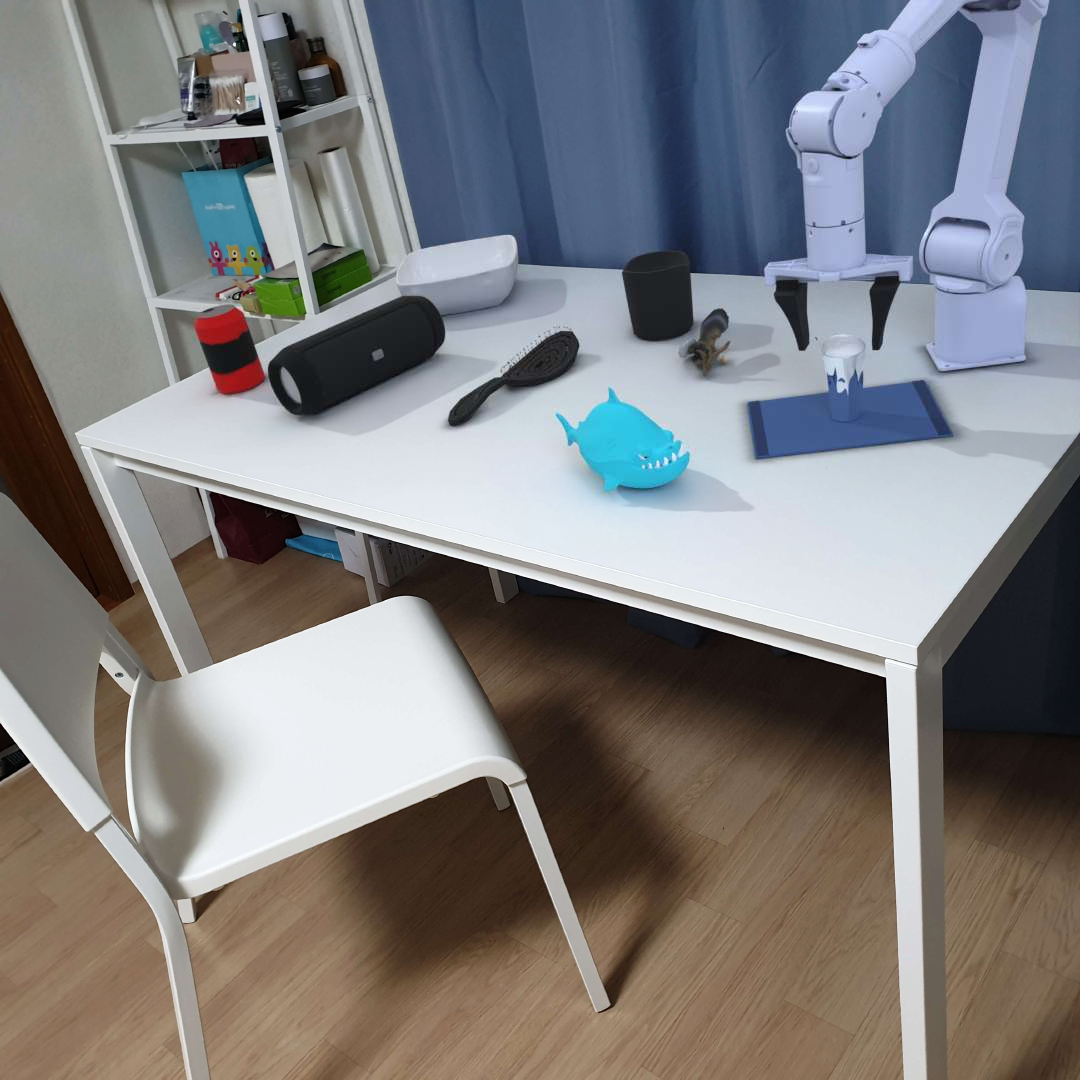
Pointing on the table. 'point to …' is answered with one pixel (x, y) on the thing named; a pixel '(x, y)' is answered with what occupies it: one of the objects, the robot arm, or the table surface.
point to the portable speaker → (356, 355)
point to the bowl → (461, 274)
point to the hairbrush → (523, 372)
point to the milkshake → (844, 375)
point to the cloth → (813, 429)
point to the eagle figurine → (708, 340)
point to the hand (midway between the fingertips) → (840, 347)
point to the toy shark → (627, 446)
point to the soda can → (229, 349)
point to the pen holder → (659, 294)
